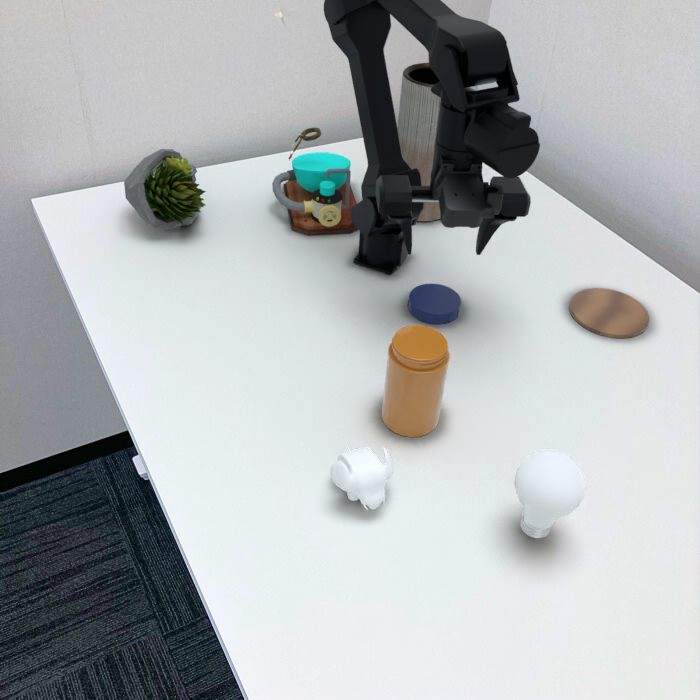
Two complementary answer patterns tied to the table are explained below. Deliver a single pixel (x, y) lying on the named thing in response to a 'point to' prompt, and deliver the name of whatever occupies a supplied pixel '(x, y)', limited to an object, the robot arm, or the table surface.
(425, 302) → the jar lid
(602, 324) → the coaster
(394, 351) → the jar
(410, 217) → the robot arm
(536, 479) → the light bulb
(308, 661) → the table surface
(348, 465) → the elephant figurine
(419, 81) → the planter
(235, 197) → the table surface
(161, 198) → the potted plant
